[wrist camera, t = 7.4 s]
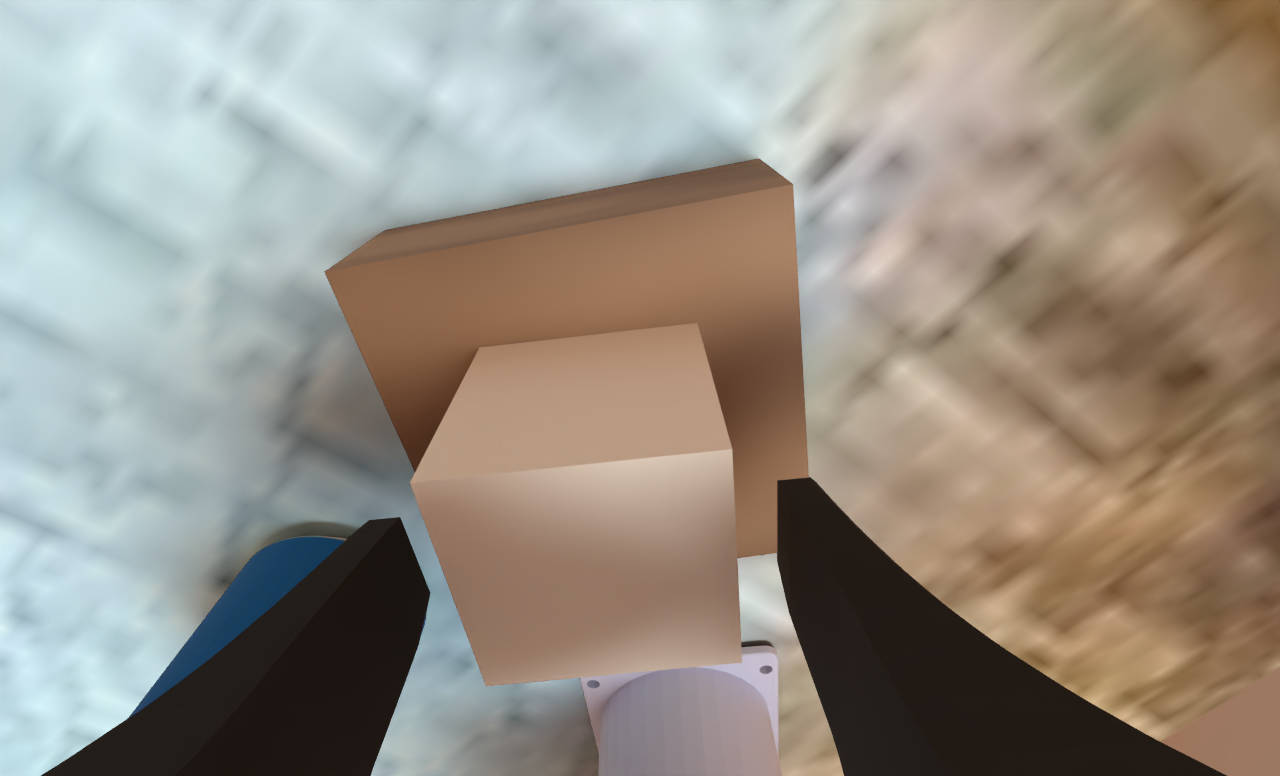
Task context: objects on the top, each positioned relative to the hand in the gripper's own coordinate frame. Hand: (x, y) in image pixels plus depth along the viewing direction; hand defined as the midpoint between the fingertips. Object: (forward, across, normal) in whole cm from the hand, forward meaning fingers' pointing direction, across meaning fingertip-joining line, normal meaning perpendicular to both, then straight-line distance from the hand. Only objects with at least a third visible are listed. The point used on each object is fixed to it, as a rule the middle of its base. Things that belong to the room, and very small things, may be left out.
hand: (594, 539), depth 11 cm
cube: (+4, 0, 0) cm, 4 cm away
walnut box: (+8, 0, 0) cm, 8 cm away
